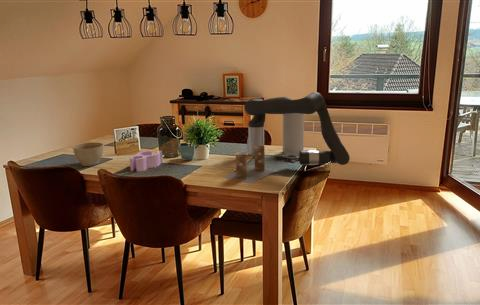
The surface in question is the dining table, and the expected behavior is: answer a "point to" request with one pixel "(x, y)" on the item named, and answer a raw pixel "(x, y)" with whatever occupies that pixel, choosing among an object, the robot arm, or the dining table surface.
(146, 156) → the clip
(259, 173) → the felt board
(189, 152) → the flower pot
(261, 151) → the two dot tile
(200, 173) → the dining table surface
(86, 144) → the planter bowl
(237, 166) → the one dot tile
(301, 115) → the cylinder vase
